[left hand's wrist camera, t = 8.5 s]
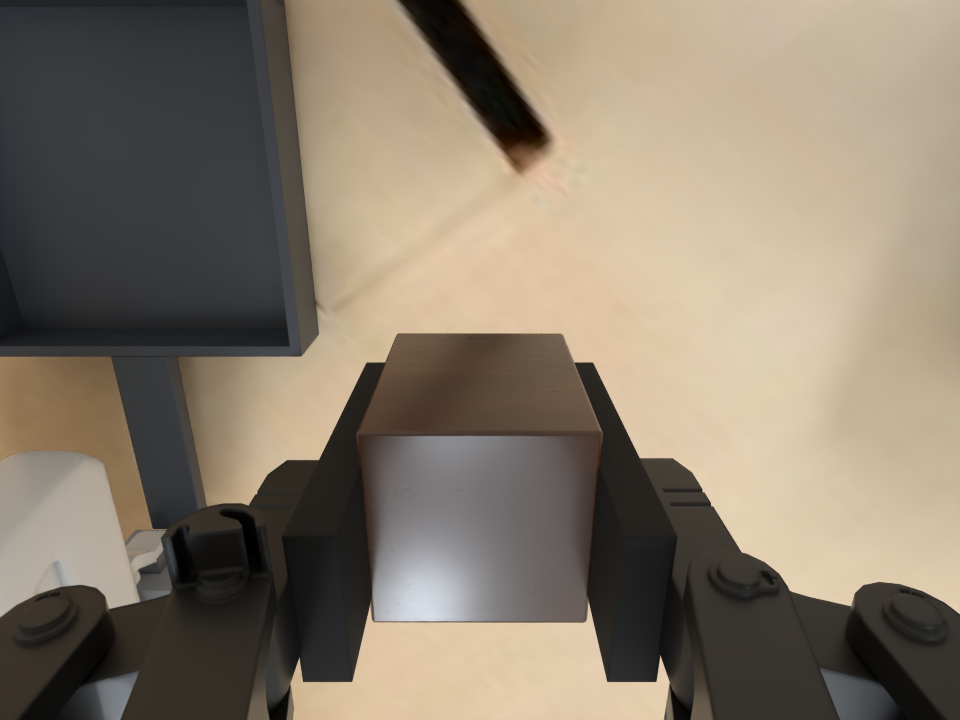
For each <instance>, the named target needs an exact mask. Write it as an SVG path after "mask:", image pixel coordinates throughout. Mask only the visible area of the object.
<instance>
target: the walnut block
mask: <svg viewBox="0 0 960 720" xmlns="http://www.w3.org/2000/svg"><path fill="white" fill-rule="evenodd" d="M356 439H357V450H358V462H359V467H361V473H362V485H363V497H364V509H365V521H366V533H367V544H368V556H369V568H370V580H371V592H372V598H371V603H370V604H371V616H372V620H373V622H565V623H583V622H586V620H587V613H588V602H589V600H588V587H589V575H590V563H591V551H592V539H593V527H594V516H595V504H596V492H597V480H598V468H599V467H600V464H601V452H602V441H603V433H602V430H601V428H600V425H599V423H598V420H597V418H596V416H595V413H594V411H593V408H592V406H591V403H590V401H589V398H588V396H587V393H586V391H585V388H584V386H583V383H582V381H581V378H580V376H579V373H578V371H577V368H576V366H575V363H574V361H573V358H572V356H571V353H570V351H569V349H568V346H567V344H566V341H565V339H564V336H563V334H405V333H399V334H397V335H396V338H395V340H394V343H393V345H392V347H391V350H390V352H389V355H388V357H387V360H386V362H385V365H384V367H383V369H382V372H381V374H380V377H379V379H378V382H377V384H376V387H375V389H374V391H373V394H372V396H371V399H370V401H369V404H368V406H367V408H366V411H365V413H364V416H363V418H362V421H361V423H360V426H359V428H358V430H357V433H356Z"/></svg>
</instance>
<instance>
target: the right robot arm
mask: <svg viewBox="0 0 960 720" xmlns="http://www.w3.org/2000/svg"><path fill="white" fill-rule="evenodd" d="M165 532H166V531H158V530H146V531H142V532H140V533H138V534H136V535H135V536H134V537H133V538H132V539H131V541H130V542H129V543H128V544H127V545H125V542H124V538H123V534H122V530H121V526H120V523H119V519H118V515H117V511H116V507H115V504H114V500H113V496H112V492H111V488H110V485H109V481H108V477H107V473H106V469H105V466H104V464H103V462H102V461H101V460H100V459H99V458H97V457H94V456H91V455H87V454H83V453H78V452H70V451H31V452H22V453H17V454H13V455H10V456H8V457H6V458H4V459H3V460H1V461H0V617H1V616H3V615H4V614H5V613H7V612H8V611H9V610H10V609H12V608H13V607H14V606H16V605H18V604H19V603H21V602H23V601H25V600H27V599H29V598H31V597H33V596H35V595H37V594H39V593H43V592H46V591H49V590H52V589H55V588H59V587H63V586H73V585H85V586H90V587H95V588H97V589H98V590H99V591H101V592H102V593H103V594H104V595H105V597H106V600H107V604H108V607H109V609H111V608H115V607H120V606H124V605H129V604H133V603H137V602H140V598H139V595H138V591H137V587H136V585H137V584H138V582H139V581H140V574H139V573H141V572H142V571H144V572H146V573H160V572H161V571H162V570H163V568H164V567H165V566H166V559H165V555H164V551H163V546H162V542H161V537H162V536H163V534H164V533H165Z"/></svg>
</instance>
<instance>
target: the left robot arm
mask: <svg viewBox="0 0 960 720" xmlns="http://www.w3.org/2000/svg"><path fill="white" fill-rule="evenodd" d="M384 365H385V363H366V365H365V367H364V369H363V371H362V373H361V375H360V377H359V379H358V381H357V383H356V385H355V388H354V390H353V392H352V394H351V396H350V398H349V400H348V402H347V404H346V406H345V408H344V410H343V412H342V414H341V416H340V418H339V420H338V422H337V424H336V426H335V428H334V431H333V433H332V435H331V437H330V439H329V441H328V443H327V445H326V447H325V449H324V451H323V453H322V455H321V457H320V459H319V460H287V461H285V462H284V463H283V464H281V465H280V466H279V467H277V468H276V469H275V470H273V471H272V472H271V473H269V474H268V475H267V477H266V478H265V480H264V482H263V483H262V485H261V486H260V488H259V490H258V493H257V494H255V496H254V498H253V499H252V501H251V503H250V504H249V506H248V505H245V504H241V503H236V504H219V505H214V506H209V507H204V508H202V509H199V510H197V511H195V512H192V513H190V514H187V515H185V516H184V517H182V518H181V519H179V520H178V521H176V522H175V523H174V524H172V525H171V526H170V527H169V528H168V529H167V530H166V532H165V533H164V534H163V536H162V537H161V542H162V546H163V551H164V555H165V559H166V563H167V567H168V572H169V576H170V580H171V584H172V590H171V592H170V594H168V595H164V596H161V597H158V598H154V599H151V600H146V601H142V602H137V603H133V604H129V605H124V606H120V607H115V608H111V609H109V607H108V604H107V600H106V597H105V595H104V594H103V593H102V592H101V591H99V590H98V589H97V588H95V587H90V586H85V585H73V586H63V587H59V588H55V589H52V590H49V591H46V592H43V593H39V594H37V595H35V596H33V597H31V598H29V599H27V600H25V601H23V602H21V603H19V604H18V605H16V606H14V607H13V608H12V609H10V610H9V611H8V612H7V613H5V614H4V615H3V616H1V617H0V720H293V712H294V705H293V698H292V691H291V685H290V683H291V680H292V677H293V674H294V671H295V668H296V665H297V663H298V660H299V657H300V664H301V670H302V677H303V682H352V680H353V676H354V672H355V667H356V663H357V659H358V655H359V650H360V646H361V642H362V637H363V633H364V629H365V624H366V620H367V616H368V611H369V607H370V603H371V598H372V592H371V580H370V568H369V556H368V544H367V533H366V521H365V509H364V497H363V485H362V473H361V467H359V462H358V450H357V439H356V433H357V430H358V428H359V426H360V423H361V421H362V418H363V416H364V413H365V411H366V408H367V406H368V404H369V401H370V399H371V396H372V394H373V391H374V389H375V387H376V384H377V382H378V379H379V377H380V374H381V372H382V369H383V367H384ZM575 366H576V368H577V371H578V373H579V376H580V378H581V381H582V383H583V386H584V388H585V391H586V393H587V396H588V398H589V401H590V403H591V406H592V408H593V411H594V413H595V416H596V418H597V420H598V423H599V425H600V428H601V430H602V433H603V441H602V452H601V464H600V467H599V468H598V480H597V492H596V504H595V516H594V527H593V539H592V551H591V563H590V575H589V587H588V600H589V604H590V609H591V613H592V617H593V622H594V626H595V630H596V635H597V639H598V643H599V648H600V652H601V656H602V661H603V665H604V669H605V674H606V678H607V682H656V681H657V674H658V668H659V661H660V655H661V658H662V661H663V664H664V667H665V670H666V672H667V675H668V678H669V681H670V685H669V691H668V697H667V704H666V710H665V716H664V720H960V614H959V613H957V612H956V611H955V610H953V609H952V608H951V607H950V606H948V605H947V604H946V603H944V602H942V601H940V600H938V599H936V598H934V597H932V596H930V595H929V594H927V593H925V592H923V591H920V590H917V589H914V588H910V587H907V586H904V585H900V584H893V583H883V582H877V583H872V584H867V585H863V586H862V587H861V588H860V589H859V590H858V591H857V592H856V593H855V595H854V598H853V602H852V605H851V606H847V605H842V604H838V603H833V602H829V601H825V600H820V599H816V598H811V597H807V596H804V595H801V594H797V593H794V592H791V591H789V588H788V586H787V585H786V583H785V582H784V580H783V579H782V577H781V576H780V574H779V573H777V572H776V571H775V570H774V569H772V568H771V567H770V566H769V565H767V564H766V563H765V562H763V561H761V560H759V559H757V558H754V557H752V556H750V555H748V554H745V553H742V552H741V551H740V549H739V547H738V546H737V544H736V543H735V541H734V539H733V538H732V536H731V535H730V533H729V531H728V530H727V528H726V526H725V525H724V523H723V522H722V520H721V518H720V517H719V515H718V514H717V512H716V510H715V509H714V507H711V502H710V501H709V499H708V497H707V496H706V494H705V493H704V492H702V488H701V486H700V485H699V483H698V481H697V480H696V478H695V477H694V475H693V473H692V472H691V471H689V470H688V469H686V468H685V467H684V466H682V465H681V464H680V463H678V462H677V461H676V460H674V459H673V458H639V456H638V454H637V452H636V450H635V448H634V446H633V444H632V442H631V440H630V438H629V436H628V433H627V431H626V429H625V427H624V425H623V423H622V421H621V419H620V417H619V415H618V413H617V411H616V409H615V407H614V405H613V403H612V401H611V399H610V397H609V394H608V392H607V390H606V388H605V386H604V384H603V382H602V380H601V378H600V376H599V374H598V372H597V370H596V368H595V366H594V364H593V363H575Z"/></svg>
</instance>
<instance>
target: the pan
mask: <svg viewBox="0 0 960 720" xmlns="http://www.w3.org/2000/svg"><path fill="white" fill-rule="evenodd" d="M318 335H319V333H318V323H317V314H316V304H315V295H314V285H313V276H312V266H311V256H310V247H309V237H308V228H307V218H306V209H305V199H304V189H303V180H302V170H301V161H300V151H299V142H298V132H297V123H296V113H295V103H294V94H293V84H292V75H291V65H290V56H289V46H288V36H287V27H286V17H285V8H284V0H0V357H74V356H113V357H112V362H113V366H114V370H115V375H116V379H117V383H118V387H119V391H120V395H121V399H122V403H123V408H124V412H125V416H126V420H127V424H128V428H129V432H130V436H131V441H132V445H133V449H134V453H135V457H136V461H137V465H138V469H139V474H140V478H141V482H142V486H143V490H144V494H145V498H146V502H147V506H148V511H149V515H150V519H151V523H152V527H153V529H168V528H169V527H170V526H171V525H172V524H174V523H175V522H176V521H178V520H179V519H181V518H182V517H184V516H185V515H187V514H190V513H192V512H195V511H197V510H199V509H202V508H204V507H207V505H206V500H205V495H204V490H203V485H202V480H201V475H200V470H199V465H198V460H197V455H196V450H195V445H194V440H193V435H192V430H191V425H190V420H189V415H188V410H187V405H186V400H185V395H184V390H183V385H182V380H181V375H180V370H179V364H178V359H177V356H302V355H303V354H304V353H305V351H306V350H307V349H308V347H309V346H310V345H311V344H312V342H313V341H314V340H315V339H316V337H317V336H318ZM142 531H146V530H136V531H135V532H134V533H133V534H132V535H131V536H130V538H129V539H128V540H127V541H126V542H125V545H127V544H128V543H129V542H130V541H131V539H132V538H133V537H134V536H135V535H136V534H138V533H140V532H142ZM158 531H166V530H158ZM139 574H140V581H139V582H138V584H137V585H136V587H137V591H138V595H139V598H140V602H142V601H146V600H151V599H154V598H158V597H161V596H164V595H168V594H170V592H171V590H172V584H171V580H170V576H169V572H168V567H167V563H166V566H165V567H164V568H163V570H162V571H161V572H160V573H146V572H144V571H142V572H141V573H139Z"/></svg>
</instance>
